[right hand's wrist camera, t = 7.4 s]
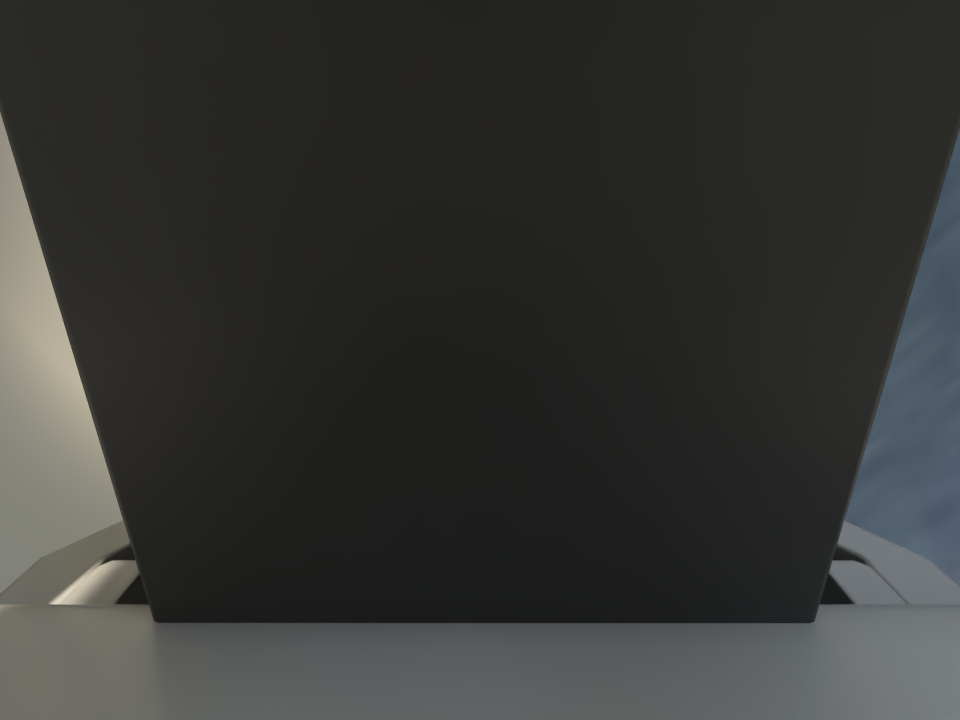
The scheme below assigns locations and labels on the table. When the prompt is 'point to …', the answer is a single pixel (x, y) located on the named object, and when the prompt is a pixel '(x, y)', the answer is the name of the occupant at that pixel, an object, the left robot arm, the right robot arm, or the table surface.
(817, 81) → the box
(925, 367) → the table surface
